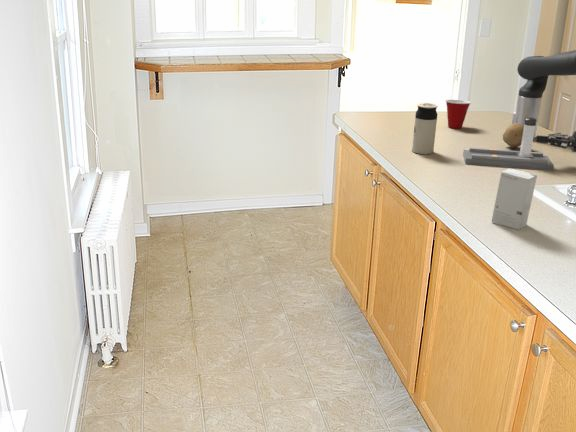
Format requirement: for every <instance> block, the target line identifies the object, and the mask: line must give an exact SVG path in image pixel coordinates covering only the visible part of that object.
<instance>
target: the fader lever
mask: <svg viewBox="0 0 576 432" xmlns="http://www.w3.org/2000/svg"><path fill="white" fill-rule="evenodd" d="M536 121H537V119H535V118H525V121H524V130H523V136H522V142H521V145H520V149H519V151H520V152H516V156H517V157H520V158H534V157H533V155H532V154H531V152H532V149H533V142H534V139H533V137H534V131H535V125H536Z"/></svg>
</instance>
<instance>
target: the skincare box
mask: <svg viewBox="0 0 576 432" xmlns="http://www.w3.org/2000/svg"><path fill="white" fill-rule="evenodd" d="M537 177H538V175H537V174H532V173H530V172H526V171H522V170H518V169H515V168H511V167H508V168H506V169H504V170H503V171H501V172H500V176H499V183H498V187H497V192H496V196H495V201H494V207H493V212H492V216H491V223H493V224H497V225H501V226H504V227H509V228H512V229H514V230H520V229H522V228H524V227H525V226H526V225H527V223H528V219H529V215H530V209H531V205H532V202H533V201H532V200H533V197H534V192H535V187H536V183H537Z"/></svg>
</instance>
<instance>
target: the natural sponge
mask: <svg viewBox="0 0 576 432" xmlns="http://www.w3.org/2000/svg"><path fill="white" fill-rule="evenodd" d="M523 130H524V126H523V125H522V124H519V123H514V124H512V123H511V124H510V125H508V127H507V128H506V129H505V130H504V132H503V134H502V140H503V143H505V144H506V145H508V146H509V147H510V148H512V149H516V148H519V147H521V142H522V136H523Z"/></svg>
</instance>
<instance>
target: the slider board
mask: <svg viewBox="0 0 576 432" xmlns="http://www.w3.org/2000/svg"><path fill="white" fill-rule="evenodd" d="M516 152H520V150H511V149H510V150H509V149H508V150H507V149H495V148H481V147H480V148H479V147H469V149H463V152H462V155H463V156H462V157H463V161H464V163H465V165H473V166H474V165H476V166H487V167H488V166H489V167H491V166H492V167H501V168H502V167H503V168H513V169H516V168H517V169H529V170H540V171H541V170H543V171H553V169H554V163H553V162H552V161H551V159H550V158H549V156H548V155H544V153H543V152H539V151H538V152H537V151H535V152H534V151H531V154H532V155H533V157H534V158H520V157H517V156H516Z"/></svg>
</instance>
